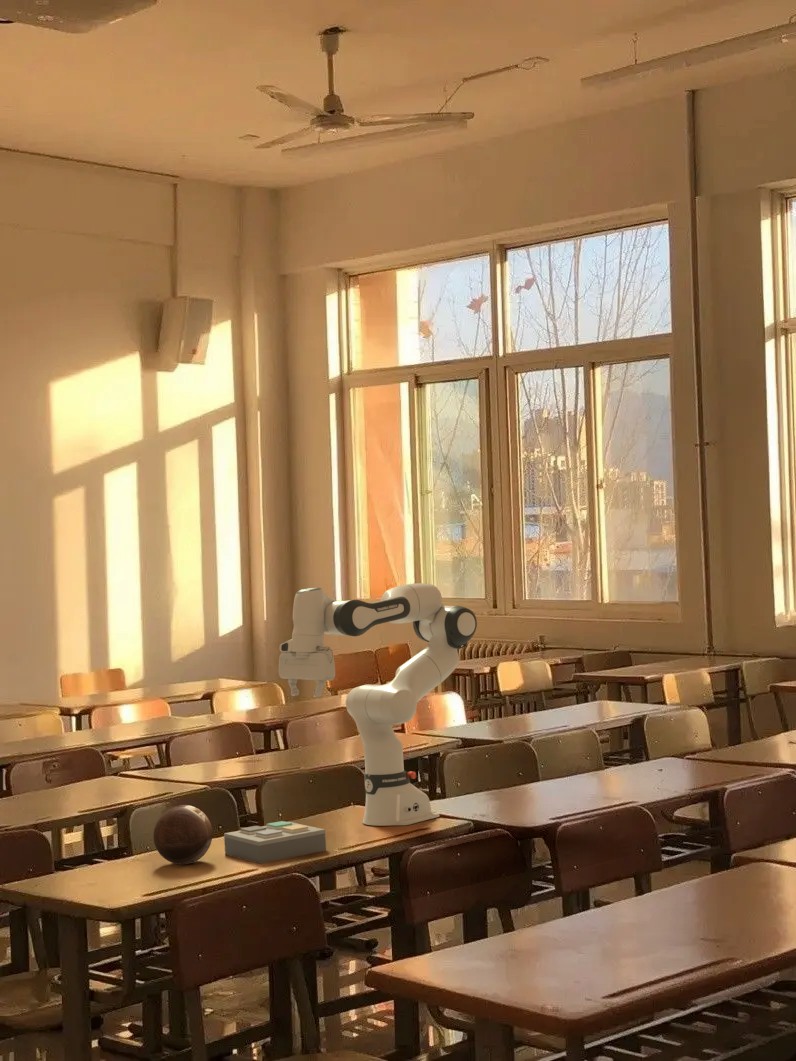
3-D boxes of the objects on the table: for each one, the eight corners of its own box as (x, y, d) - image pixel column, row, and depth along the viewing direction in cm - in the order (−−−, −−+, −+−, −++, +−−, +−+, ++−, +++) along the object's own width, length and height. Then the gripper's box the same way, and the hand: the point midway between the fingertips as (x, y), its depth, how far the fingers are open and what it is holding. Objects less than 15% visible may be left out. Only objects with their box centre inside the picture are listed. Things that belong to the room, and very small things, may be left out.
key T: (298, 835, 395) (298, 824, 395) (308, 838, 391) (308, 826, 391) (282, 838, 392) (281, 827, 392) (292, 841, 388) (292, 829, 388)
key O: (257, 836, 397) (256, 825, 397) (266, 839, 393) (266, 827, 393) (240, 840, 394) (240, 828, 394) (250, 842, 390) (249, 830, 390)
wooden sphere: (210, 868, 377) (206, 808, 378) (150, 871, 377) (147, 812, 378) (217, 856, 392) (213, 798, 393) (160, 859, 392) (156, 802, 393)
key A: (272, 840, 391) (272, 829, 391) (282, 843, 387) (282, 831, 387) (256, 843, 388) (255, 832, 388) (266, 846, 384) (265, 834, 384)
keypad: (289, 841, 406) (288, 821, 406) (326, 850, 391) (324, 829, 391) (225, 854, 394) (224, 833, 394) (260, 863, 380) (258, 841, 380)
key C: (282, 832, 402) (282, 821, 402) (292, 834, 398) (292, 823, 398) (266, 835, 399) (266, 823, 399) (276, 837, 395) (276, 826, 395)
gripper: (341, 646, 409) (339, 697, 408) (292, 645, 423) (291, 695, 422) (324, 646, 404) (322, 697, 403) (275, 645, 419) (273, 695, 418)
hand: (305, 696), depth 413 cm, fingers open, 8 cm apart
